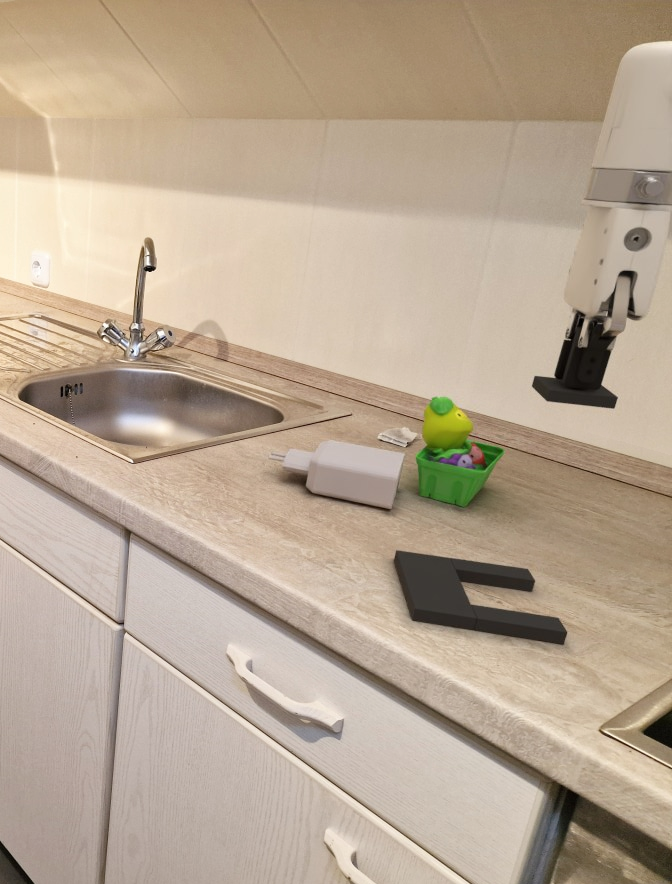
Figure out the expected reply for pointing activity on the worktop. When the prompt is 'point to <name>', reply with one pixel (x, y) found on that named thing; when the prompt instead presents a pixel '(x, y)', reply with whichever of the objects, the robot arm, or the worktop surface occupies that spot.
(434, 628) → the worktop surface
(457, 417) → the fruit basket
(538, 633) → the black flat u-shaped plate
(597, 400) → the black peg on base
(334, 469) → the charger
